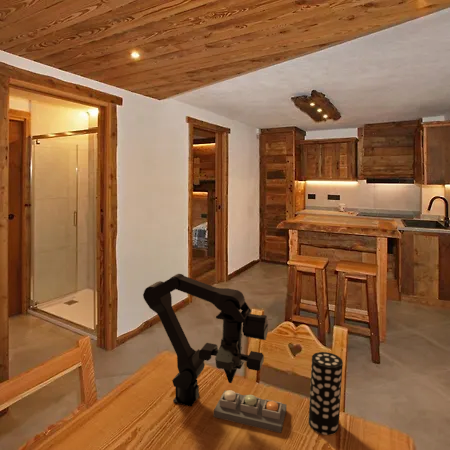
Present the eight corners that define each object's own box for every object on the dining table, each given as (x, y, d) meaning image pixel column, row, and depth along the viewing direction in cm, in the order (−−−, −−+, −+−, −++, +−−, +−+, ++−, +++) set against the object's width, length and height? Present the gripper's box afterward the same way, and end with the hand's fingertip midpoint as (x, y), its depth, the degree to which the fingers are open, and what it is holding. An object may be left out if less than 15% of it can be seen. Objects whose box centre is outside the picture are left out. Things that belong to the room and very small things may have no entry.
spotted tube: (340, 437, 95) (344, 369, 92) (309, 432, 96) (312, 365, 94) (336, 416, 103) (340, 353, 100) (308, 412, 104) (311, 350, 102)
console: (213, 416, 102) (213, 404, 101) (224, 396, 111) (224, 385, 111) (281, 433, 96) (281, 420, 95) (286, 410, 105) (286, 398, 105)
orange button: (265, 413, 100) (265, 407, 100) (267, 406, 103) (267, 400, 103) (276, 416, 99) (277, 409, 99) (278, 408, 102) (279, 402, 102)
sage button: (243, 406, 102) (243, 400, 102) (246, 399, 105) (246, 393, 105) (254, 409, 101) (255, 402, 101) (257, 402, 104) (257, 396, 104)
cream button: (222, 401, 104) (223, 395, 104) (226, 395, 107) (226, 389, 107) (233, 404, 103) (233, 398, 103) (236, 397, 106) (237, 391, 106)
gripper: (192, 340, 97) (191, 391, 100) (256, 352, 92) (254, 405, 94) (206, 324, 108) (205, 370, 110) (265, 334, 102) (262, 383, 104)
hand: (230, 382), depth 104 cm, fingers closed
